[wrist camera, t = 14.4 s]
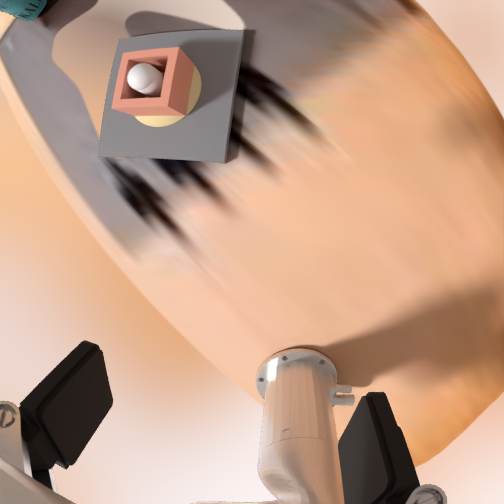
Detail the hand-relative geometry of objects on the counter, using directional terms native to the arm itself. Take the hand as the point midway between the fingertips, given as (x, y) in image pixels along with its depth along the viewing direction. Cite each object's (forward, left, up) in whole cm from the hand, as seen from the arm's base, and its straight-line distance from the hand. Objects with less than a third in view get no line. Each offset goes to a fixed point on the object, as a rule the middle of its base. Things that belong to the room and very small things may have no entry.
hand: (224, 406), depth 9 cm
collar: (+15, -17, -26) cm, 35 cm away
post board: (+15, -17, -28) cm, 36 cm away
